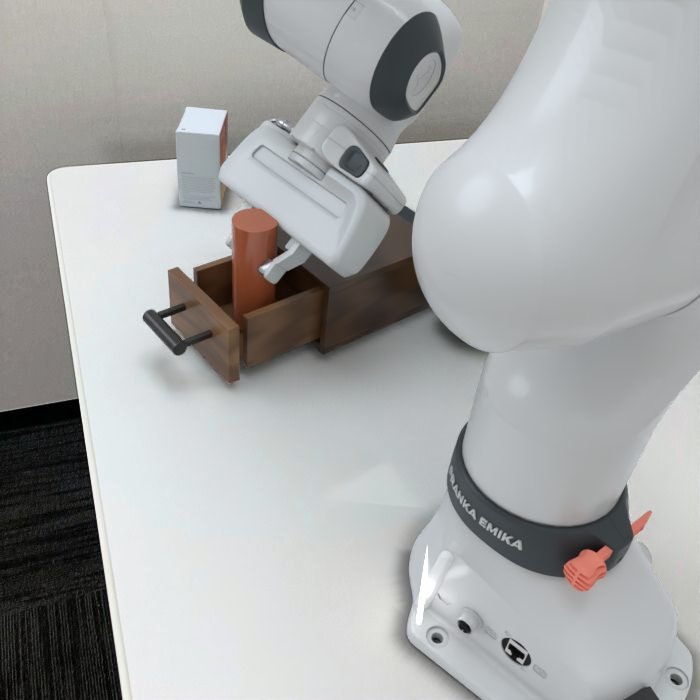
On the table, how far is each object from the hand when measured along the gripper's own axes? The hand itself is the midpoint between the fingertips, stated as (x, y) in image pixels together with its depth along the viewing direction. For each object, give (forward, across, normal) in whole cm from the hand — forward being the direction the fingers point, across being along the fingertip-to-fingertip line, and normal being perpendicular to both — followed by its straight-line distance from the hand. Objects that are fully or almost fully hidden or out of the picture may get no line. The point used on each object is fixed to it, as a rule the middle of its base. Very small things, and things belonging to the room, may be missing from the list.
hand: (249, 264), depth 76 cm
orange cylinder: (+5, 0, +6) cm, 7 cm away
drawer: (+7, 0, +6) cm, 9 cm away
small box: (-2, -29, +15) cm, 33 cm away
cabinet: (-2, 0, +16) cm, 16 cm away
